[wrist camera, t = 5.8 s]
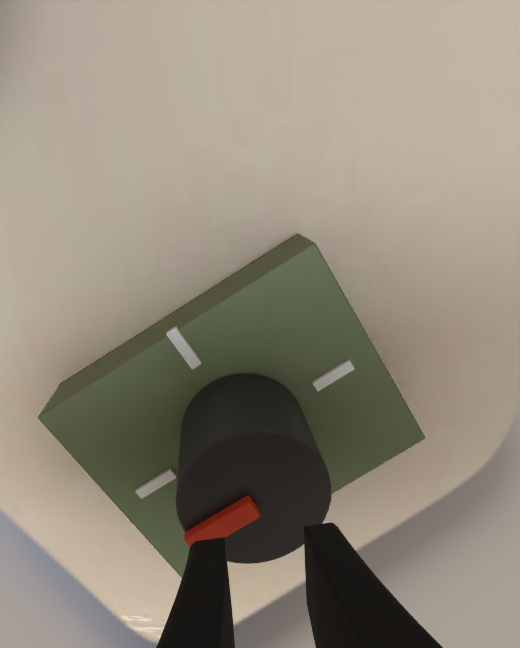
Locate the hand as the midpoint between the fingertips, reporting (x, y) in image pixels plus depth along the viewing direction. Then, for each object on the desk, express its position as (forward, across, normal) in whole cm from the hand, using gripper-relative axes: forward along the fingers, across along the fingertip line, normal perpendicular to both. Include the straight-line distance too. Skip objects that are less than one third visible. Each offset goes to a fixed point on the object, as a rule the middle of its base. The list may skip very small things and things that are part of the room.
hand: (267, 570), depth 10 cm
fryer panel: (+8, 0, 0) cm, 8 cm away
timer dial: (+6, 0, 0) cm, 6 cm away
